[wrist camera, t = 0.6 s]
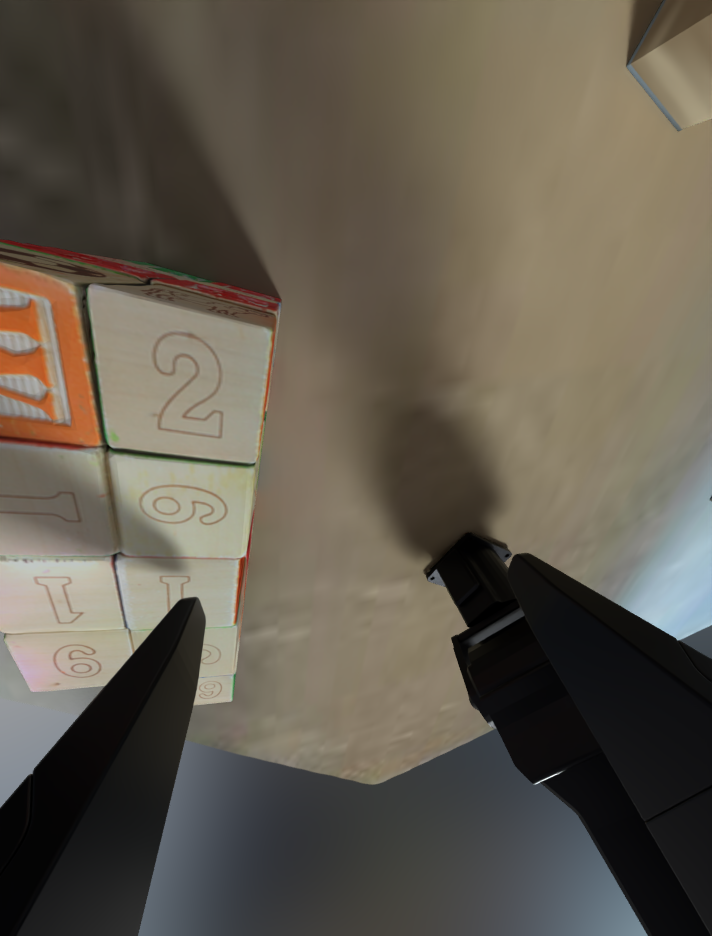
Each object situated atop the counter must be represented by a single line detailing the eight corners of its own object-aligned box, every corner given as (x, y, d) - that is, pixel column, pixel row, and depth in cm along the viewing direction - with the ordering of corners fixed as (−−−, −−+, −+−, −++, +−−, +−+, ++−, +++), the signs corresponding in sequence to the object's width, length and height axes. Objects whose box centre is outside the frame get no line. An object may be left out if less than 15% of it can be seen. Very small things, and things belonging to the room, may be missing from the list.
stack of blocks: (247, 576, 26) (223, 773, 16) (164, 575, 24) (73, 797, 14) (282, 295, 16) (278, 326, 6) (143, 257, 14) (-245, 196, 4)
